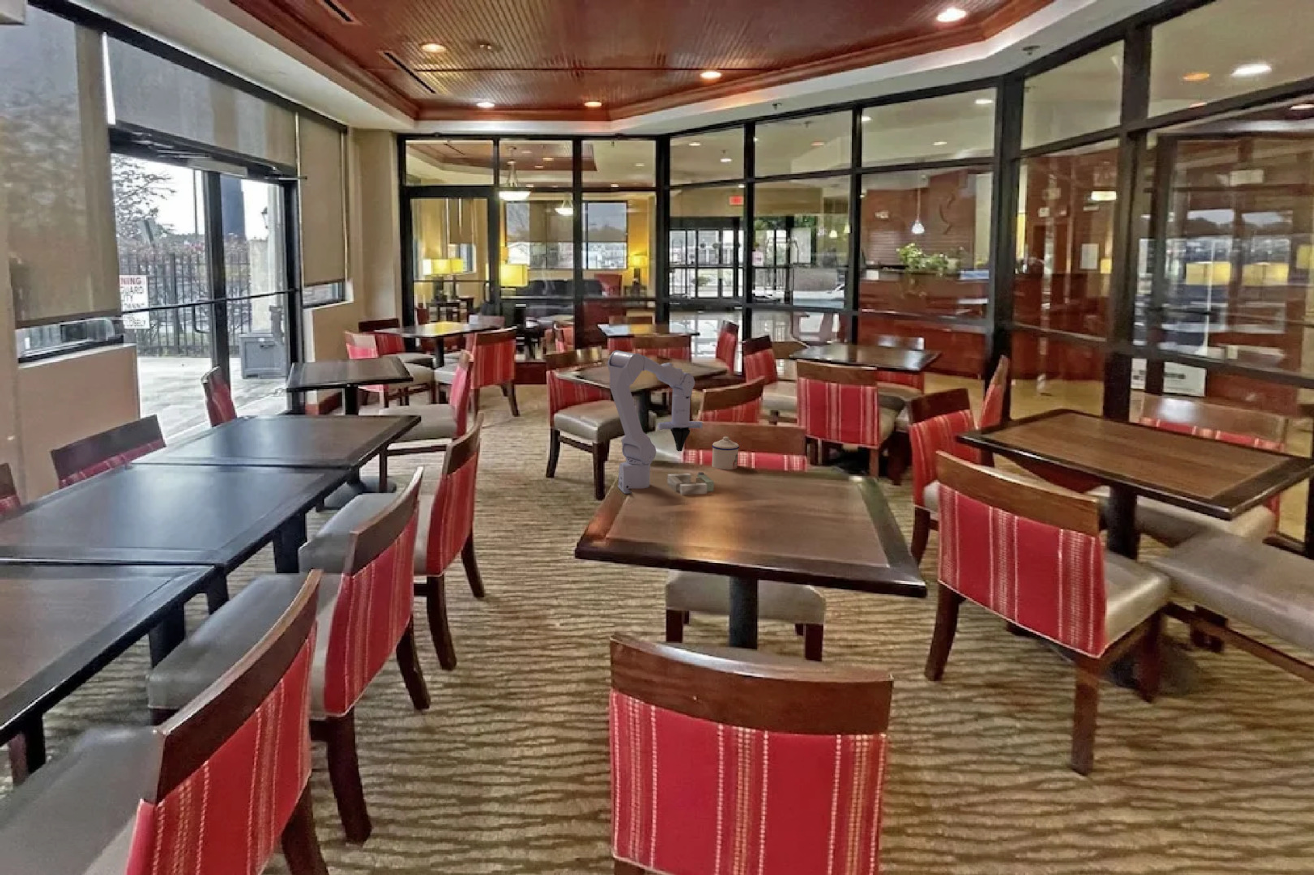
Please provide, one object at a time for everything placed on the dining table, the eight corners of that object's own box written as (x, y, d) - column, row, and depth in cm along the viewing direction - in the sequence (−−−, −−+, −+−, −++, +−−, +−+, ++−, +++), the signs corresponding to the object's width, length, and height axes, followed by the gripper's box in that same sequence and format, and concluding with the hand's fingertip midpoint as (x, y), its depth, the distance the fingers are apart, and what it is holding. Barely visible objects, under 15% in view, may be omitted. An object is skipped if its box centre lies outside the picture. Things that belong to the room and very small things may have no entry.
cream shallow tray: (678, 499, 271) (679, 486, 270) (664, 487, 284) (664, 474, 283) (722, 497, 275) (722, 483, 274) (706, 484, 288) (706, 472, 287)
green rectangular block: (706, 491, 275) (706, 480, 274) (696, 482, 284) (696, 472, 284) (713, 491, 276) (713, 480, 275) (703, 482, 285) (703, 472, 284)
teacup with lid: (738, 474, 302) (740, 440, 299) (711, 473, 302) (713, 439, 299) (736, 465, 313) (738, 432, 311) (710, 464, 313) (711, 431, 311)
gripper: (663, 412, 281) (661, 454, 284) (706, 410, 285) (704, 452, 288) (656, 408, 288) (655, 449, 291) (699, 406, 292) (697, 447, 295)
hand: (679, 450), depth 290 cm, fingers closed
